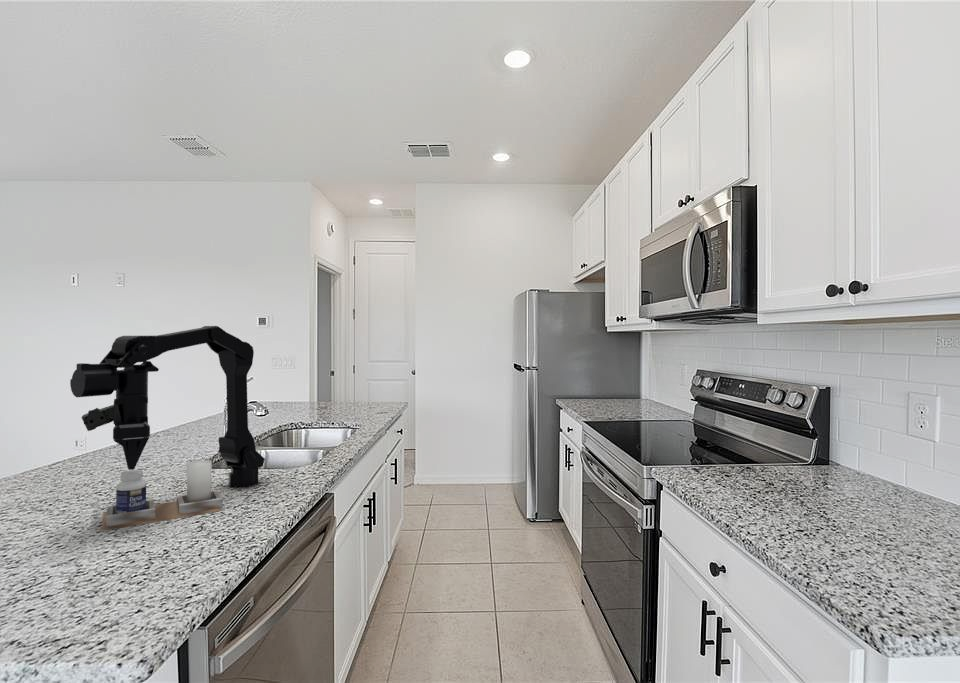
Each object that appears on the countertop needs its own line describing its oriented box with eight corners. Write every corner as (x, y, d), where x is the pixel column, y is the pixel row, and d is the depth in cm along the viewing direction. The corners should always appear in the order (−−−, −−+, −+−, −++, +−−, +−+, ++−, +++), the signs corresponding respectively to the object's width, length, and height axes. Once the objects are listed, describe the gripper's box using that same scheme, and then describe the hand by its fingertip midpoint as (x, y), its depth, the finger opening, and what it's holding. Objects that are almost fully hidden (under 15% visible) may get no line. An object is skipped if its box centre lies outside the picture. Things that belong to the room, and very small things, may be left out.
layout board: (215, 501, 124) (215, 487, 124) (223, 516, 114) (223, 501, 114) (103, 518, 112) (103, 503, 112) (100, 538, 101) (101, 521, 101)
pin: (209, 500, 120) (210, 459, 120) (212, 506, 116) (212, 463, 116) (185, 504, 117) (186, 462, 117) (187, 510, 113) (188, 466, 113)
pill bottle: (130, 521, 106) (131, 476, 106) (109, 519, 107) (109, 474, 107) (152, 513, 111) (152, 469, 111) (131, 511, 112) (132, 468, 112)
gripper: (88, 391, 112) (87, 460, 112) (81, 399, 97) (80, 480, 97) (147, 388, 118) (147, 454, 118) (150, 396, 103) (149, 472, 103)
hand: (131, 464), depth 109 cm, fingers open, 9 cm apart
